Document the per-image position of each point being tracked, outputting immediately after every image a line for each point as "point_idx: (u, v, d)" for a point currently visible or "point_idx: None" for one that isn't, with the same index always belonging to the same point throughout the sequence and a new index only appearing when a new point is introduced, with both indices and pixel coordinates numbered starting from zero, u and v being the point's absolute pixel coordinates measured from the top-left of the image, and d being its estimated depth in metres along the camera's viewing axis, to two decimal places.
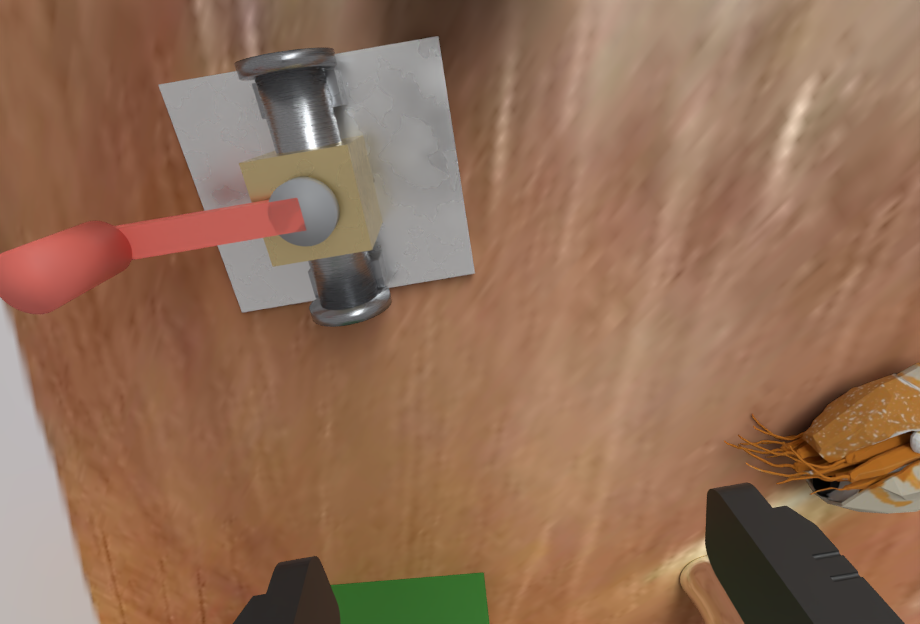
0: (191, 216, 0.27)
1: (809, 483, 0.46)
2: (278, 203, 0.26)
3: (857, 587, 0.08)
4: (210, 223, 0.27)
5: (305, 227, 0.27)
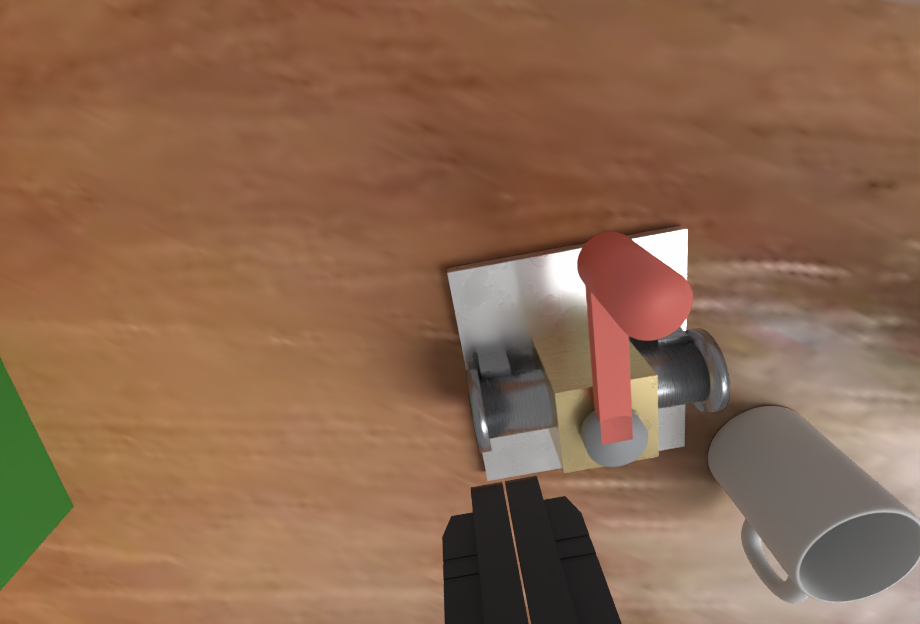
0: (628, 352, 0.26)
1: None
2: (629, 424, 0.28)
3: (588, 565, 0.09)
4: (619, 367, 0.27)
5: (604, 444, 0.28)
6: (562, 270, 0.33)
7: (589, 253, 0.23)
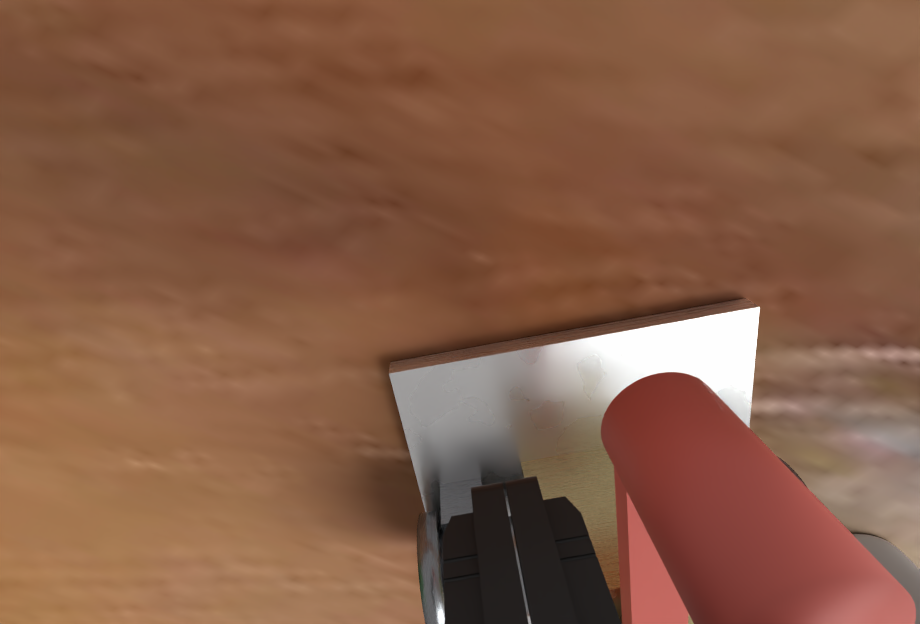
0: None
1: None
2: None
3: (588, 565, 0.09)
4: (670, 584, 0.15)
5: None
6: (566, 368, 0.22)
7: (630, 426, 0.11)
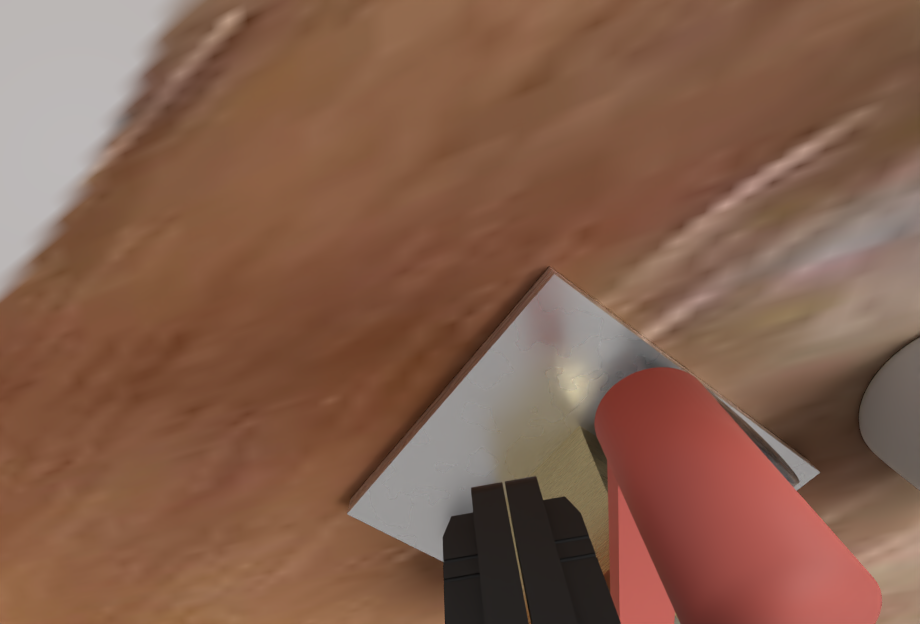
0: None
1: None
2: None
3: (587, 565, 0.09)
4: (658, 575, 0.15)
5: None
6: (456, 426, 0.23)
7: (621, 417, 0.12)
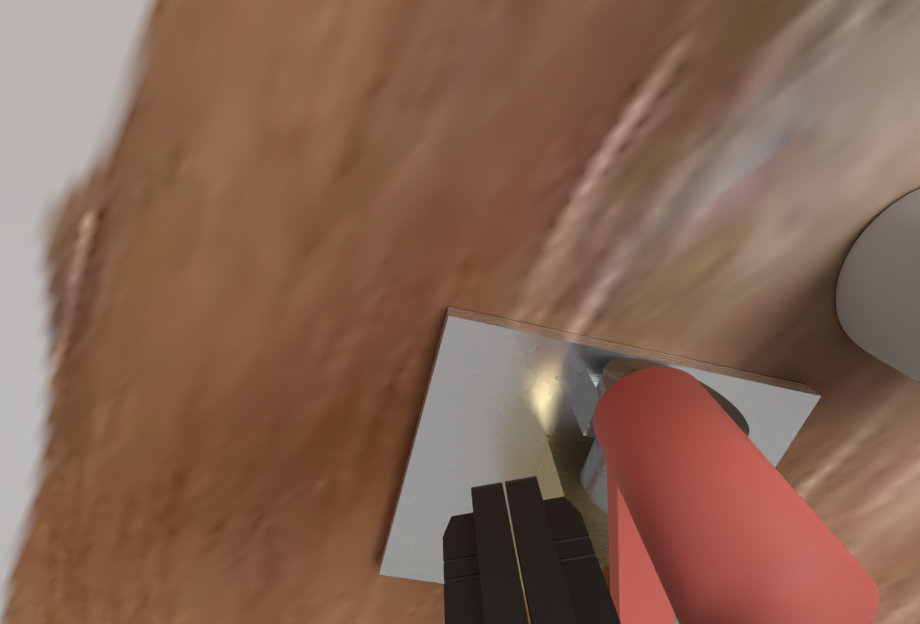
0: None
1: None
2: None
3: (587, 565, 0.09)
4: None
5: None
6: (433, 472, 0.24)
7: (620, 417, 0.12)
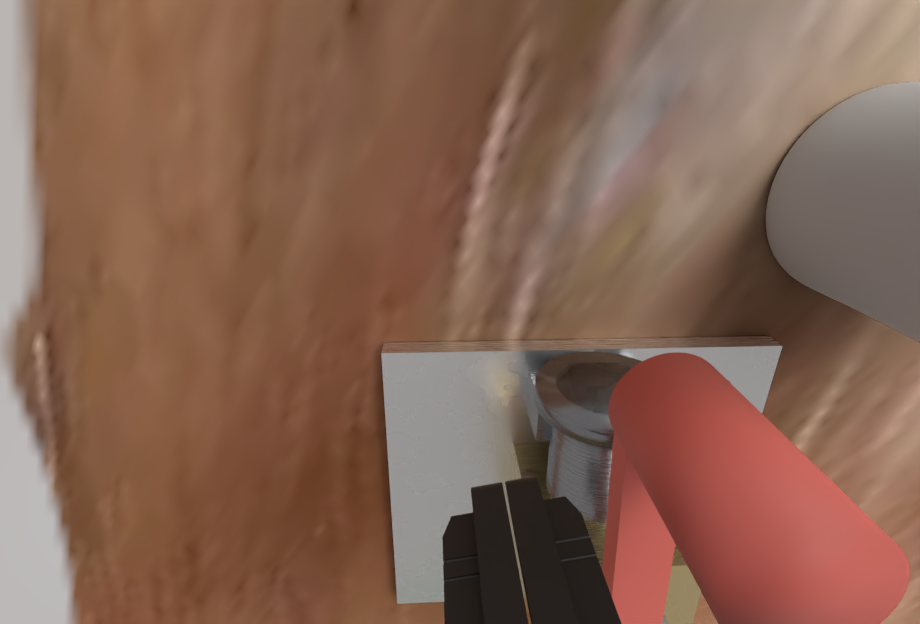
0: (673, 544, 0.15)
1: None
2: None
3: (588, 565, 0.09)
4: (653, 566, 0.15)
5: None
6: (417, 500, 0.25)
7: (642, 398, 0.12)
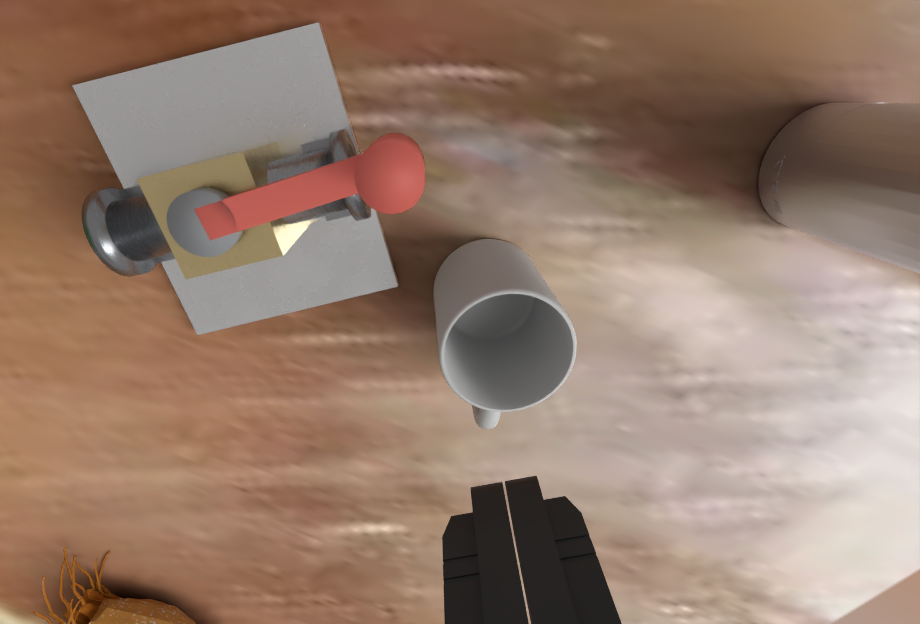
0: (309, 208, 0.27)
1: None
2: (226, 232, 0.27)
3: (588, 565, 0.09)
4: (290, 203, 0.27)
5: (195, 211, 0.26)
6: (197, 78, 0.31)
7: (405, 137, 0.25)
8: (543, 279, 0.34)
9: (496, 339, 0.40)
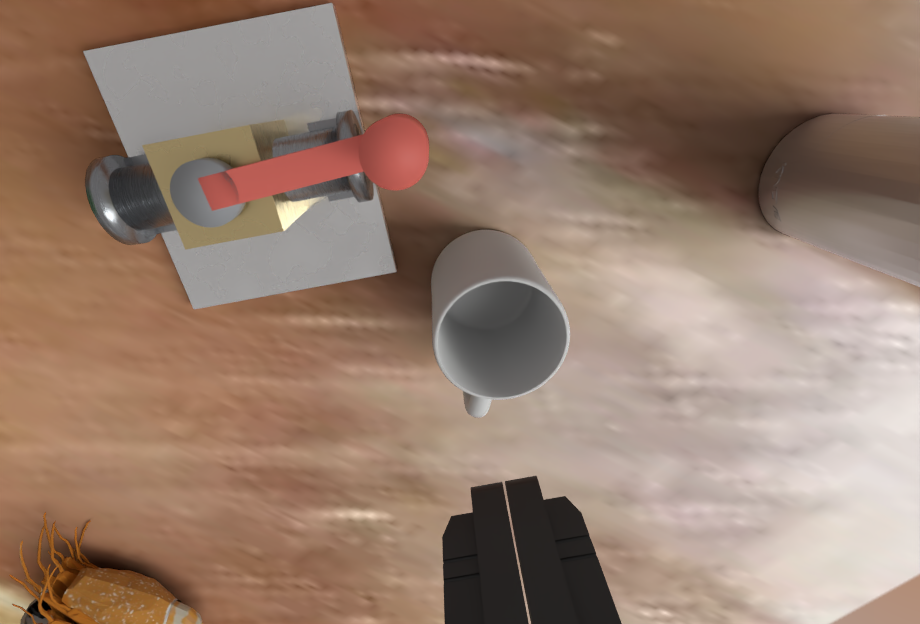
0: (312, 183, 0.27)
1: None
2: (229, 203, 0.27)
3: (588, 565, 0.09)
4: (293, 178, 0.27)
5: (199, 181, 0.27)
6: (208, 51, 0.32)
7: (412, 117, 0.25)
8: (540, 271, 0.34)
9: (491, 330, 0.40)
